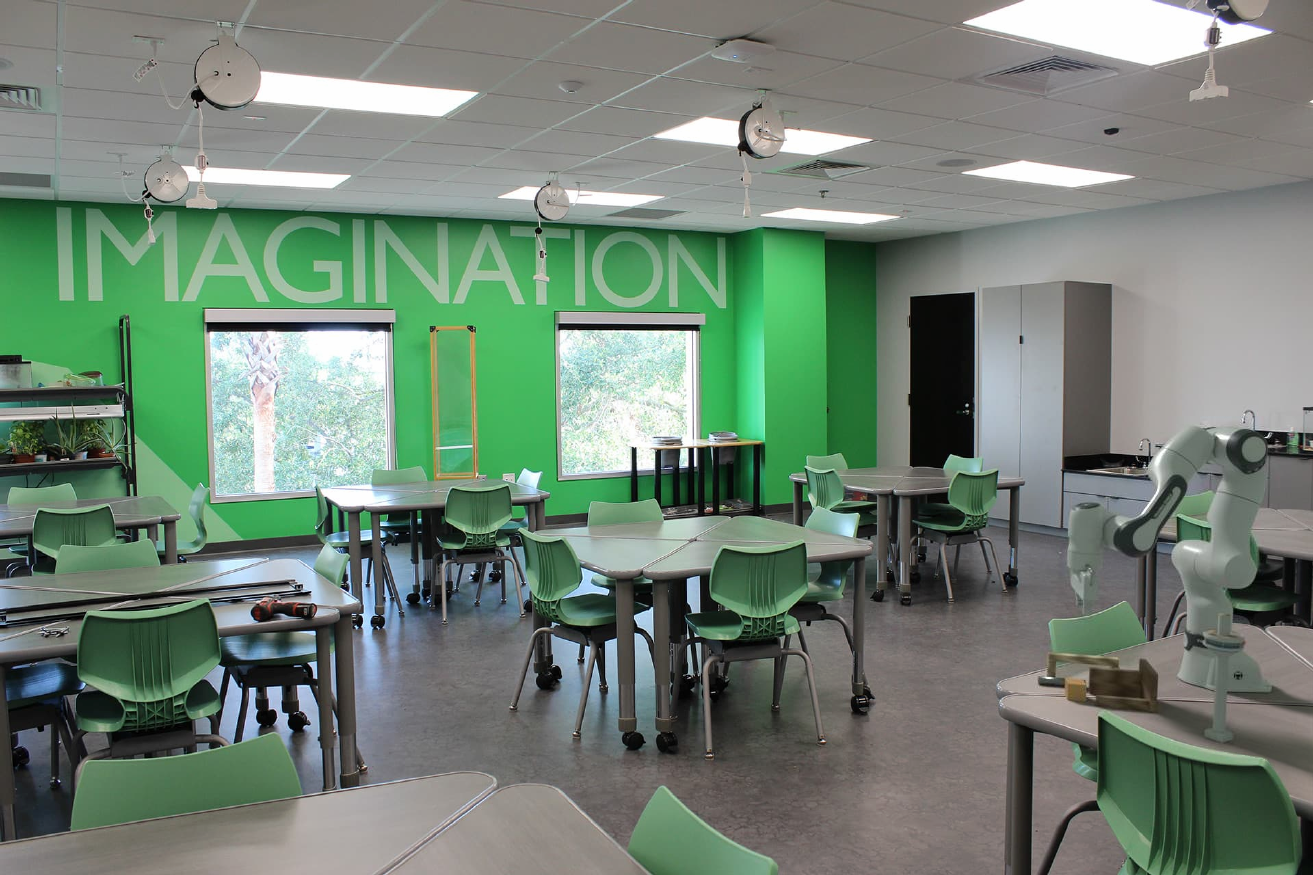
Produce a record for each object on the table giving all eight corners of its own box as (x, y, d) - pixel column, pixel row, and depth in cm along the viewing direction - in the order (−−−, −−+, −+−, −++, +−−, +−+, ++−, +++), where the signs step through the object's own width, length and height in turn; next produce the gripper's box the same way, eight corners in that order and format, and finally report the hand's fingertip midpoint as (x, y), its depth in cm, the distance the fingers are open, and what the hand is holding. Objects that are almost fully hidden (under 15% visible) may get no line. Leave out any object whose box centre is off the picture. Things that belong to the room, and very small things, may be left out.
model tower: (1212, 728, 231) (1218, 608, 229) (1246, 740, 224) (1253, 616, 222) (1190, 735, 227) (1196, 612, 225) (1225, 747, 220) (1231, 620, 218)
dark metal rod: (1086, 684, 259) (1085, 690, 261) (1085, 677, 261) (1083, 683, 262) (1039, 681, 262) (1038, 686, 264) (1038, 674, 264) (1037, 679, 265)
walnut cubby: (1144, 695, 255) (1145, 658, 254) (1156, 712, 242) (1158, 674, 241) (1087, 690, 258) (1089, 654, 257) (1097, 707, 246) (1098, 669, 245)
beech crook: (1114, 683, 264) (1115, 655, 264) (1119, 690, 259) (1120, 661, 258) (1045, 677, 269) (1046, 649, 268) (1048, 684, 263) (1049, 656, 263)
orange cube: (1082, 695, 255) (1083, 679, 254) (1085, 701, 250) (1086, 684, 250) (1064, 694, 256) (1065, 678, 255) (1067, 700, 251) (1068, 683, 251)
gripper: (1104, 570, 250) (1103, 621, 251) (1090, 554, 270) (1088, 602, 271) (1079, 568, 252) (1077, 619, 253) (1066, 553, 272) (1065, 601, 273)
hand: (1083, 610), depth 262 cm, fingers open, 8 cm apart
